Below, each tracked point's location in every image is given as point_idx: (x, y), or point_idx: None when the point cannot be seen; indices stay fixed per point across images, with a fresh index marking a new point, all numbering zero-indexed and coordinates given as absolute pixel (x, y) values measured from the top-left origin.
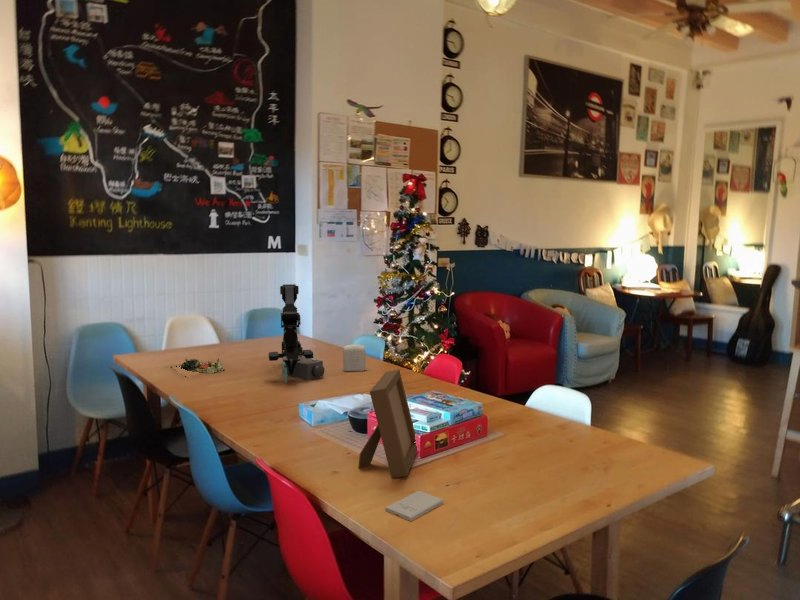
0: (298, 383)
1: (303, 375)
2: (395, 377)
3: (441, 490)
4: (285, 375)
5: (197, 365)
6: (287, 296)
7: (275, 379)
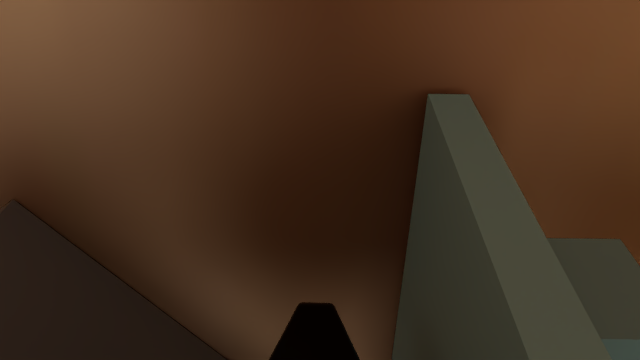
0: (188, 19)
1: (86, 323)
2: None
3: None
4: (518, 191)
5: None
6: None
7: None
